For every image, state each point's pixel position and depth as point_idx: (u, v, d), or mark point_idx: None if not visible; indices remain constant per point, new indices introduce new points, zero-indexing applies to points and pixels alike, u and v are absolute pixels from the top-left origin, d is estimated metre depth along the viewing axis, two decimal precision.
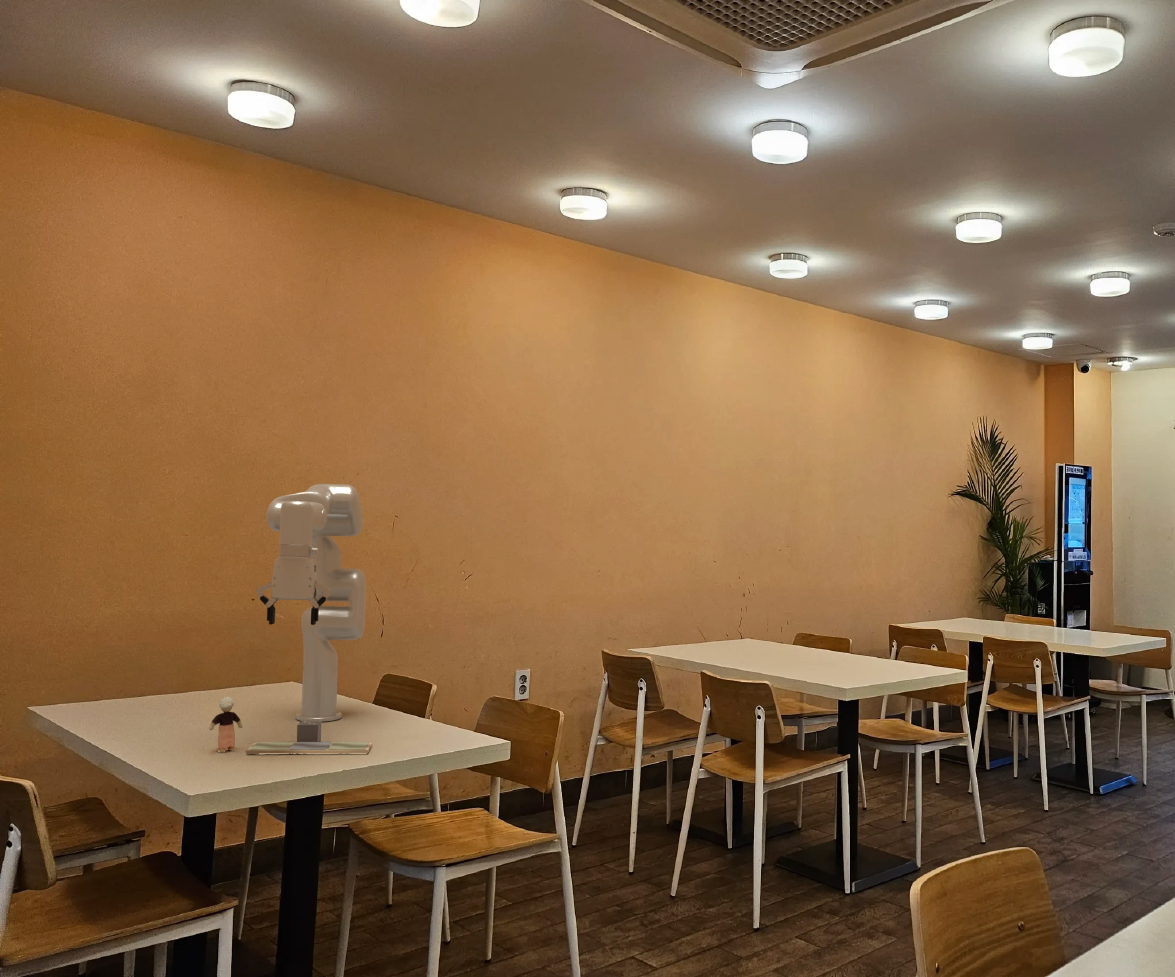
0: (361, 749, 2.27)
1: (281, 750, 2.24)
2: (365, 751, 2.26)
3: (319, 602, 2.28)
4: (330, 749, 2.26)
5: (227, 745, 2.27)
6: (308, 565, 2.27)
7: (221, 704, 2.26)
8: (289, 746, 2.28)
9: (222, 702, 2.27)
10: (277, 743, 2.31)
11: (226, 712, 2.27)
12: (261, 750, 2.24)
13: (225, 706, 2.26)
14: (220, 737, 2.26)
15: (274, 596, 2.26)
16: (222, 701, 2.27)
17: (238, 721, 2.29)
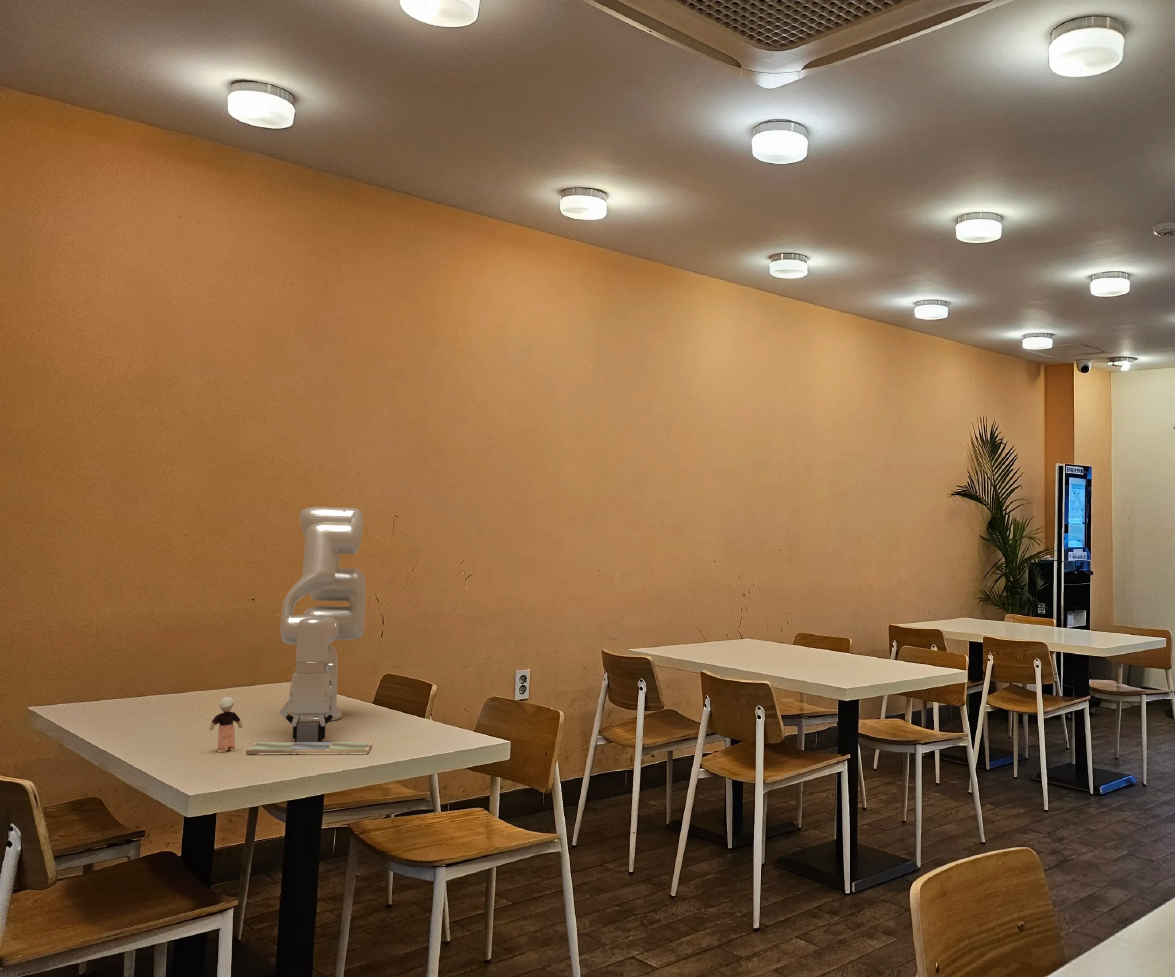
0: (361, 749, 2.27)
1: (281, 750, 2.24)
2: (365, 751, 2.26)
3: (326, 720, 2.38)
4: (330, 749, 2.26)
5: (227, 745, 2.27)
6: (324, 681, 2.37)
7: (221, 704, 2.26)
8: (289, 746, 2.28)
9: (222, 702, 2.27)
10: (277, 743, 2.31)
11: (226, 712, 2.27)
12: (261, 750, 2.24)
13: (225, 706, 2.26)
14: (220, 737, 2.26)
15: (291, 711, 2.36)
16: (222, 701, 2.27)
17: (238, 721, 2.29)
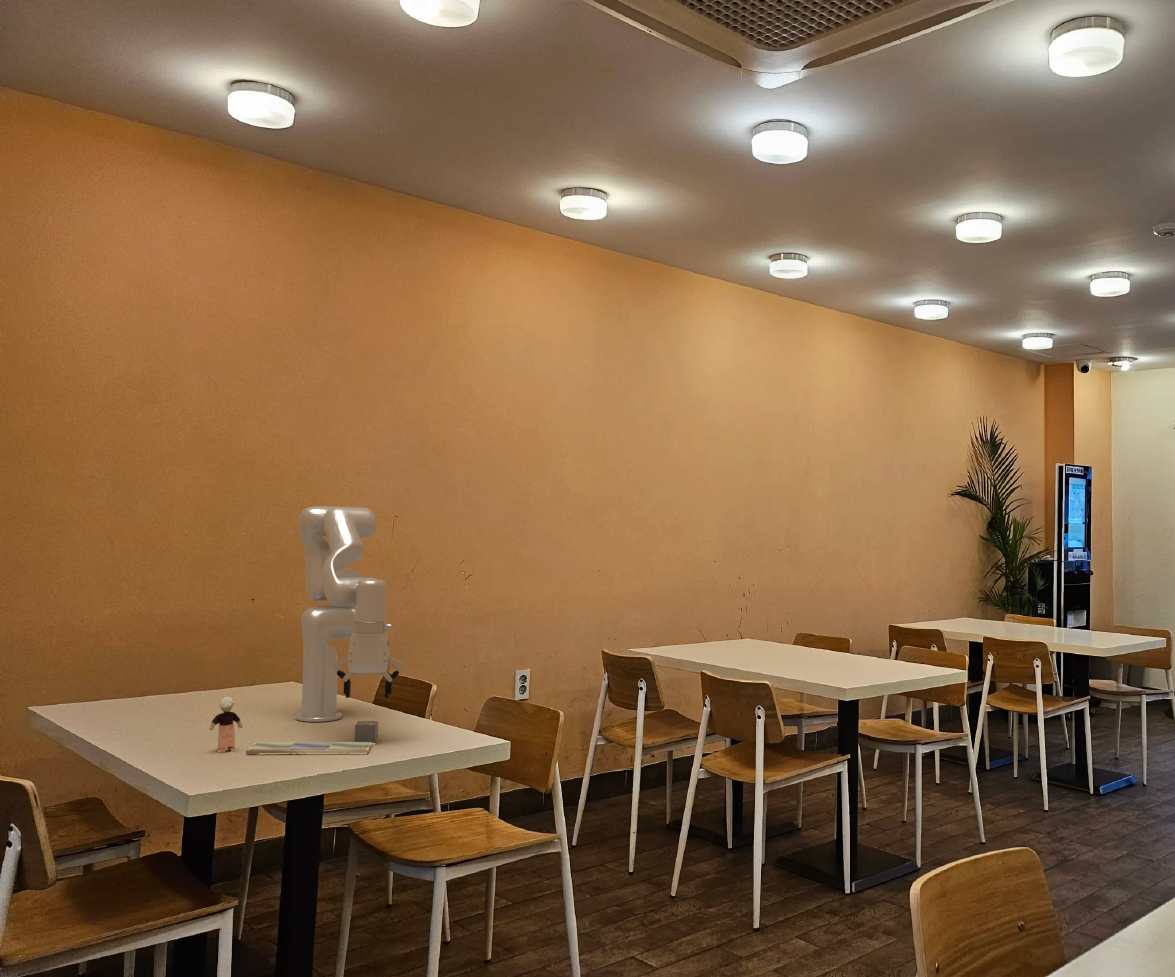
0: (361, 749, 2.27)
1: (281, 750, 2.24)
2: (365, 751, 2.26)
3: (392, 676, 2.40)
4: (330, 749, 2.26)
5: (227, 745, 2.27)
6: (382, 641, 2.39)
7: (221, 704, 2.26)
8: (289, 746, 2.28)
9: (222, 702, 2.27)
10: (277, 743, 2.31)
11: (226, 712, 2.27)
12: (261, 750, 2.24)
13: (225, 706, 2.26)
14: (220, 737, 2.26)
15: (350, 671, 2.38)
16: (222, 701, 2.27)
17: (238, 721, 2.29)
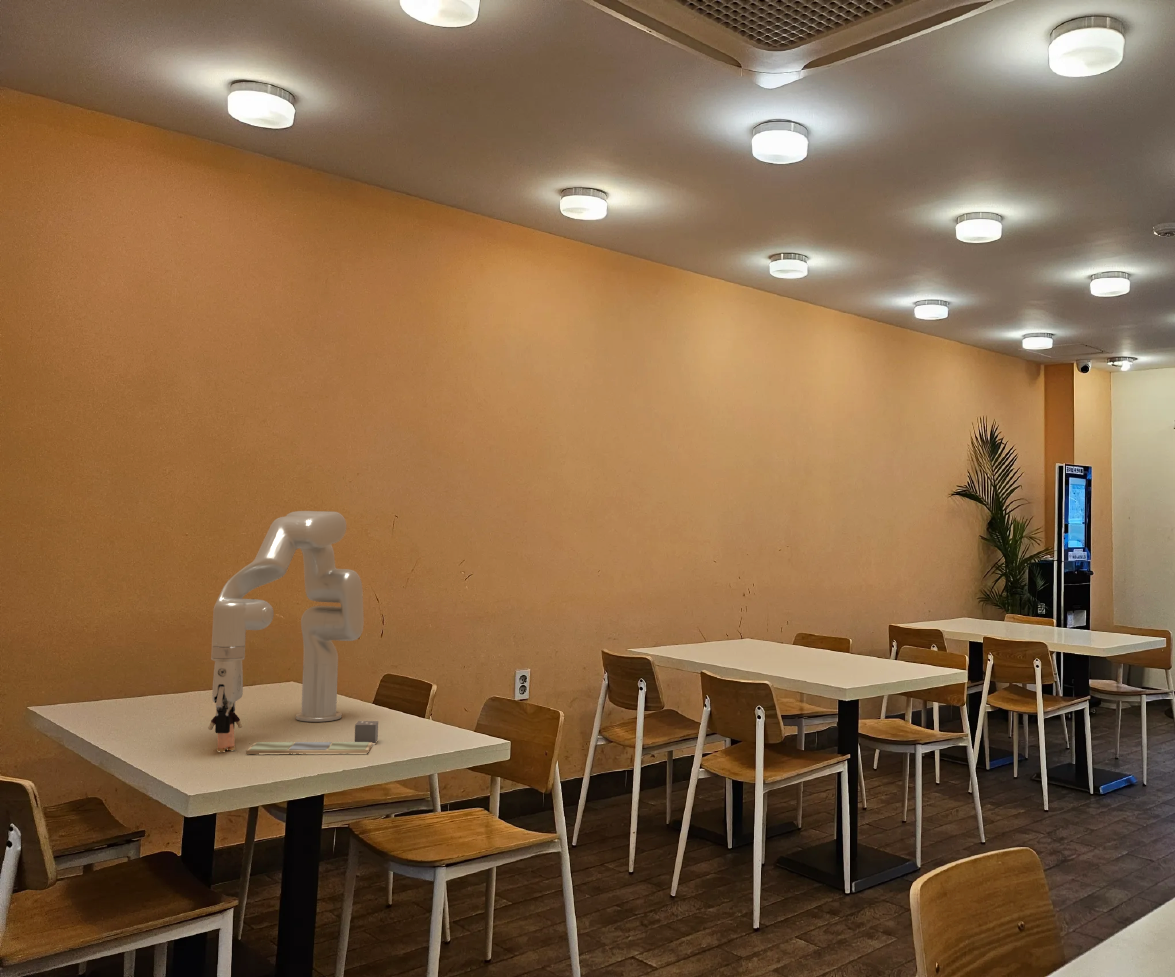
0: (361, 749, 2.27)
1: (281, 750, 2.24)
2: (365, 751, 2.26)
3: None
4: (330, 749, 2.26)
5: (226, 745, 2.27)
6: (214, 667, 2.24)
7: None
8: (289, 746, 2.28)
9: None
10: (277, 743, 2.31)
11: None
12: (261, 750, 2.24)
13: None
14: (219, 736, 2.26)
15: None
16: None
17: (238, 721, 2.29)
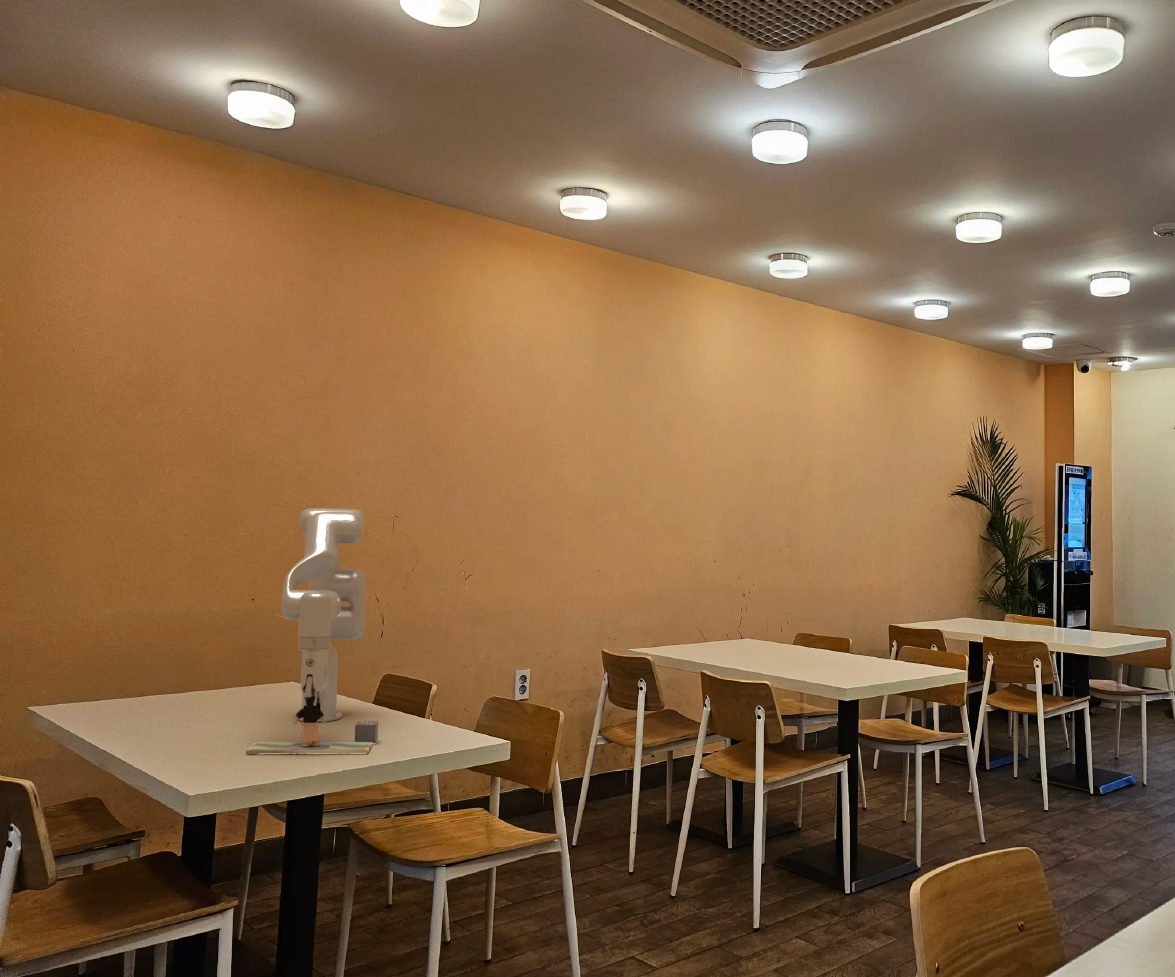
0: (361, 749, 2.27)
1: (281, 750, 2.24)
2: (365, 751, 2.26)
3: None
4: (330, 749, 2.26)
5: (310, 740, 2.28)
6: (302, 658, 2.27)
7: None
8: (289, 746, 2.28)
9: None
10: (277, 743, 2.31)
11: None
12: (261, 750, 2.24)
13: None
14: (303, 731, 2.28)
15: None
16: None
17: (321, 716, 2.30)
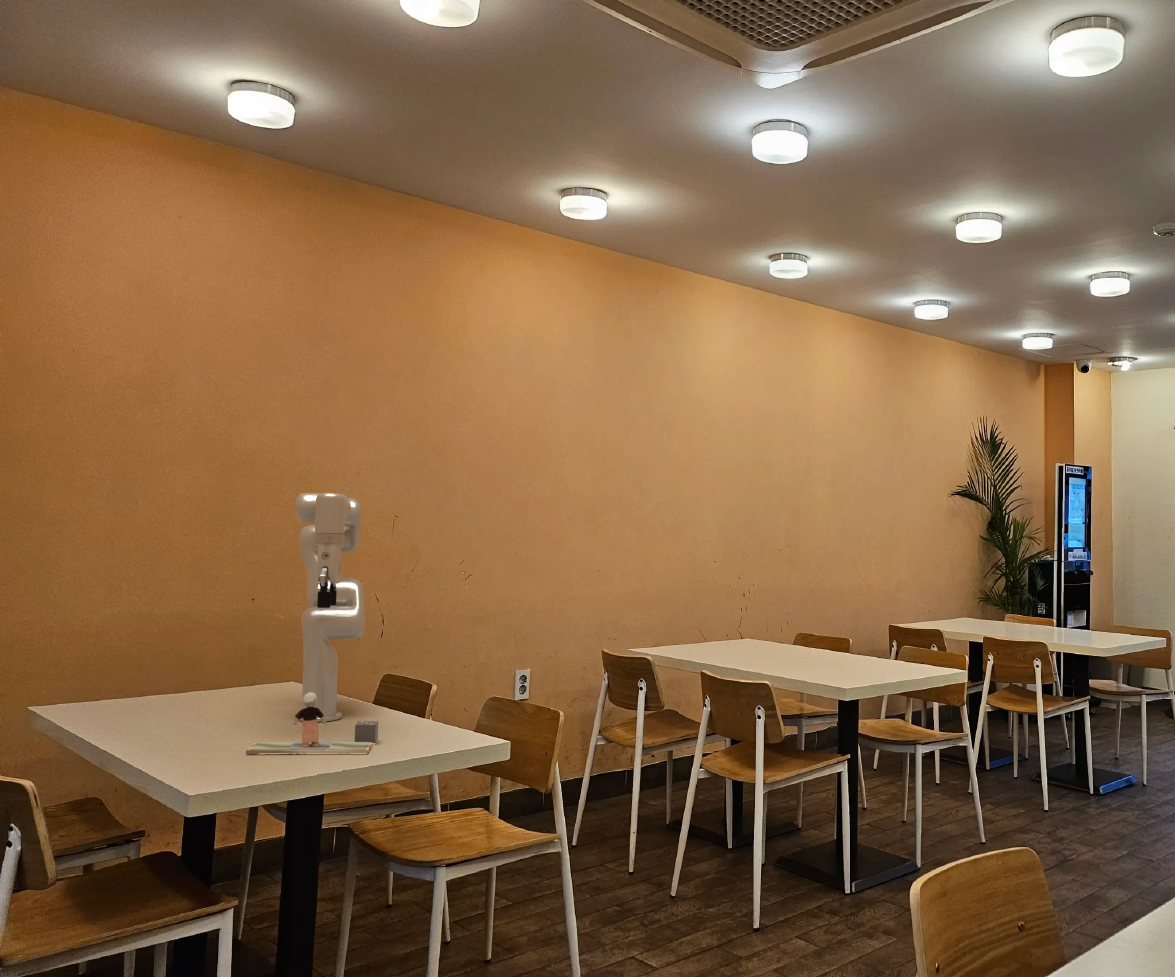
0: (361, 749, 2.27)
1: (281, 750, 2.24)
2: (365, 751, 2.26)
3: None
4: (330, 749, 2.26)
5: (310, 740, 2.28)
6: (318, 552, 2.45)
7: (304, 699, 2.28)
8: (289, 746, 2.28)
9: (305, 697, 2.28)
10: (277, 743, 2.31)
11: (309, 707, 2.29)
12: (261, 750, 2.24)
13: (307, 701, 2.28)
14: (303, 731, 2.28)
15: None
16: (305, 696, 2.29)
17: (321, 717, 2.30)
